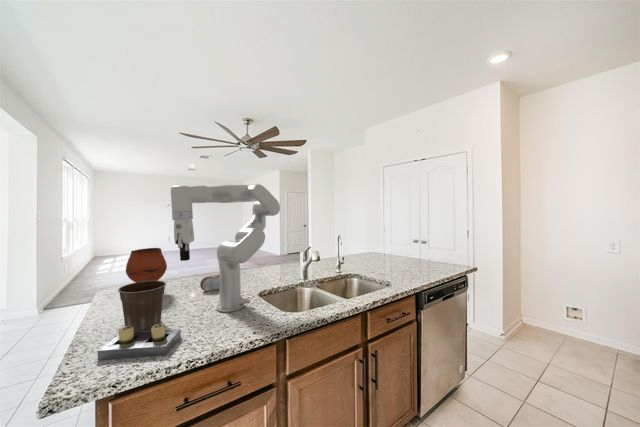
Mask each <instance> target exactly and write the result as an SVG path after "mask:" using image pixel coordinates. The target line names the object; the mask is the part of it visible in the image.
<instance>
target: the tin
mask: <svg viewBox="0 0 640 427" xmlns="http://www.w3.org/2000/svg"><path fill="white" fill-rule="evenodd" d="M199 285H200V289H201V290H203V291H204V292H212V291H213V292H214V291H217V290H219V291H220V285H219V274H215V275H209V276H205V277H203V278H202V279H201V280H200V284H199Z"/></svg>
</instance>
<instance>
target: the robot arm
mask: <svg viewBox="0 0 640 427" xmlns="http://www.w3.org/2000/svg"><path fill="white" fill-rule="evenodd" d="M170 202H171V204H170V205H171V217H172V221H173V240H174V244H175V245H177V248H178V249H179V258H180V261H181V262H185V261H189V260H190V259H191V256H190V244H191V243H193V242H194V241H195V233H194V224H193V219H194V215H193V214H194V212H193V211H194V210H193V204H206V203H207V204H208V203H211V204H212V203H213V204H214V203H218V204H230V203H232V204H233V203H234V204H235V203H250V202H253V205H252V209H251V210H252V216H251V219H250V220H249V221H248V222H246V224H244V226H243V227H241V228H240V229H239V230H238V231H237V232H236V234H235V236H234V237H235V238H234V240H235V241H233V240H226V241H223V242H221V243H220V244H219V245H218V247H217V249H216V255H217V256H216V257H217V262H218V270H219V274H218V275H219V285H220V289H219V303H218V304H217V305H216V308H215V309H216V310H217V311H218V312H220V313H231V312H237V311H239V310H241V309H243V308H244V307H245V304H247V305H248V304H251V299H250V298H248V297H247V298H244V297H243V295H242V293H241V291H242V288H241V264H244V263H246V262H248V261H249V260H250V259H252V257H253V256H254V255H255V254H256V253H257V252H258V251H259V250H260V249H261V248H262V247H263V245H264V243H265V240H266V234H265V231H264V230H265V228H266V225H267V221H266V220H267V219H266V218H267V217H269V216H270V217H274V216H277V215H278V214H279V213H280V211H281V204H280V203H279V201H278V200H277V198H276V197H275V196H274V195H273V194H272V193H271V192H270V190H268V189H267V188H266V187H265V186H264V185H262V184H259V183H258V184H223V185H216V186H206V185H203V184H201V185H193V186H189V185H173V186H171V188H170Z"/></svg>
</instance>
